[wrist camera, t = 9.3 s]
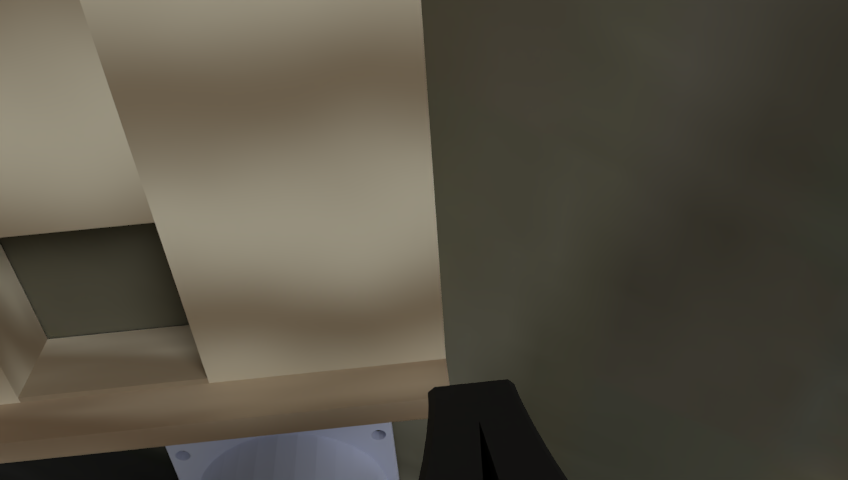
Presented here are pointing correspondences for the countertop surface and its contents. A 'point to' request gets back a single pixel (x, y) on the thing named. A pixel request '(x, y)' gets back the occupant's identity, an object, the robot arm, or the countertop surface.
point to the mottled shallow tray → (223, 216)
